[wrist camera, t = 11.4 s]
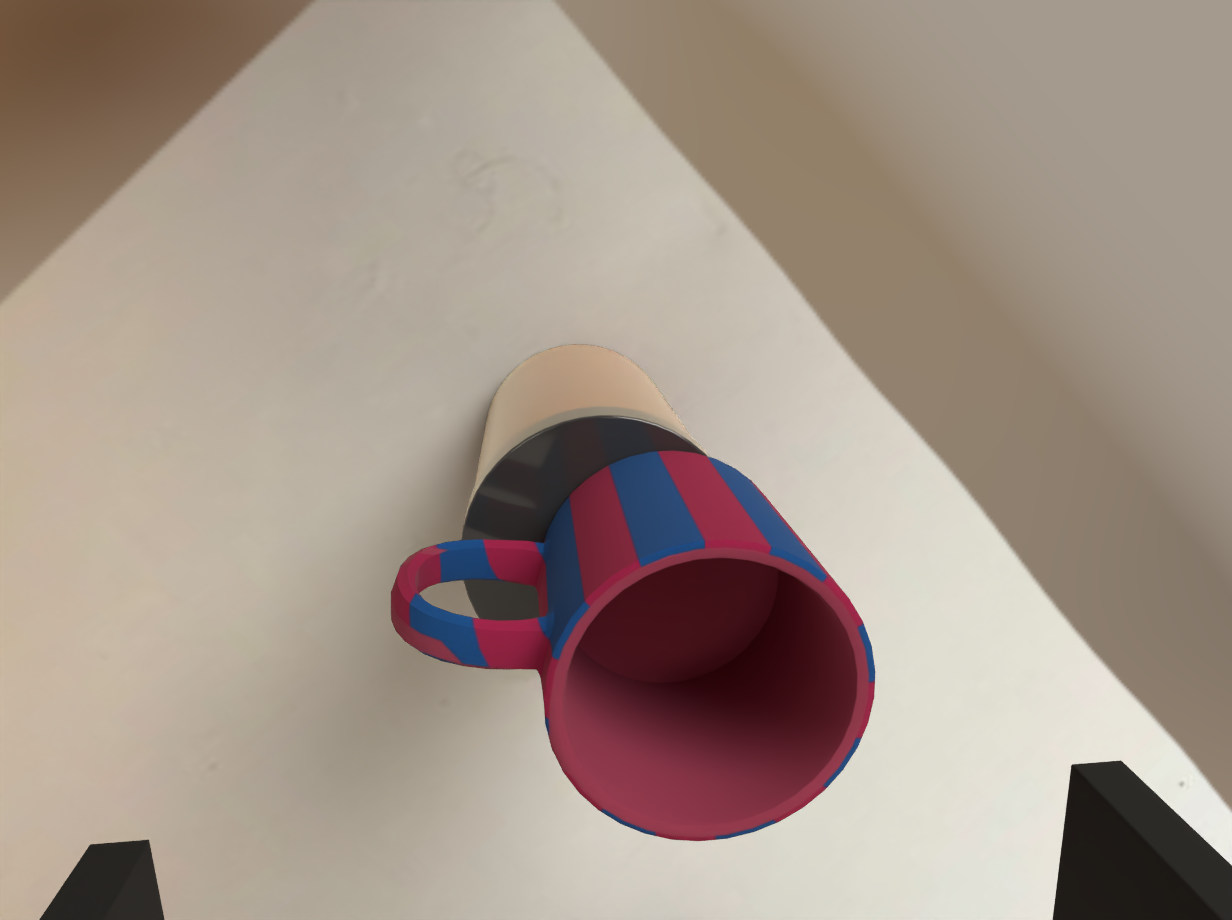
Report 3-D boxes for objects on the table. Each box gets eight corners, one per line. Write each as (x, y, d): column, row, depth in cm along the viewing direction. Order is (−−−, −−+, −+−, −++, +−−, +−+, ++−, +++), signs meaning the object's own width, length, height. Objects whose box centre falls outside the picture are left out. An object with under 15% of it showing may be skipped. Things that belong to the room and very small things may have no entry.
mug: (732, 707, 26) (800, 874, 20) (387, 611, 25) (336, 758, 18) (823, 493, 25) (929, 596, 18) (462, 374, 23) (437, 442, 17)
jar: (477, 345, 36) (450, 422, 24) (670, 337, 37) (746, 409, 24) (488, 529, 38) (470, 691, 26) (672, 519, 39) (742, 674, 26)
